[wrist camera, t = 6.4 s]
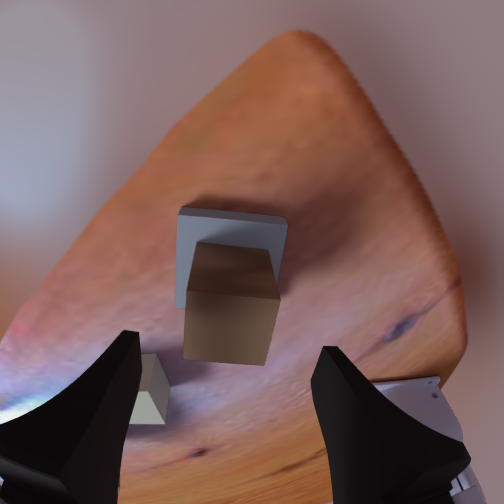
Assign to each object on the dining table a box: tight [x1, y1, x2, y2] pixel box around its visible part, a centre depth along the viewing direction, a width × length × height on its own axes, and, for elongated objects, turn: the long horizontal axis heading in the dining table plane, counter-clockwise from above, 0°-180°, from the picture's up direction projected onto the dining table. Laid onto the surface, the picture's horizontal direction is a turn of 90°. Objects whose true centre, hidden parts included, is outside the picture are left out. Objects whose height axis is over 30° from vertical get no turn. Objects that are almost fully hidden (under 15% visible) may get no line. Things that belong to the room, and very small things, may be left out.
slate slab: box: [175, 207, 288, 308], centre depth 20 cm, size 6×6×2 cm
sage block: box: [129, 353, 170, 424], centre depth 22 cm, size 4×4×4 cm
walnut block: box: [183, 242, 281, 366], centre depth 17 cm, size 4×4×5 cm
